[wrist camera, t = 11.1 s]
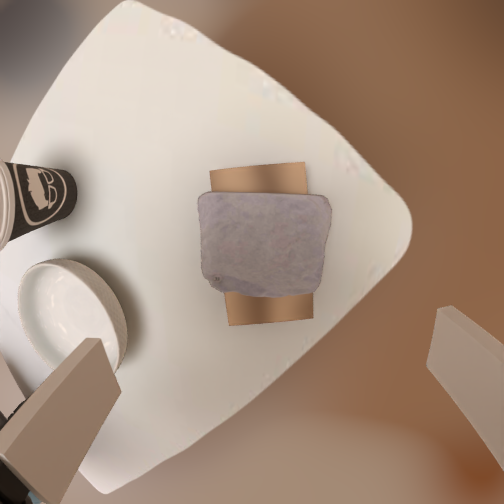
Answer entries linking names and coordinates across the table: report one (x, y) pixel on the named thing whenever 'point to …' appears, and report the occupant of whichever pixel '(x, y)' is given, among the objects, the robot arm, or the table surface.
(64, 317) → the cereal bowl
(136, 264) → the table surface
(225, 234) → the stone block
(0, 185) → the coffee cup
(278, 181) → the walnut plinth
